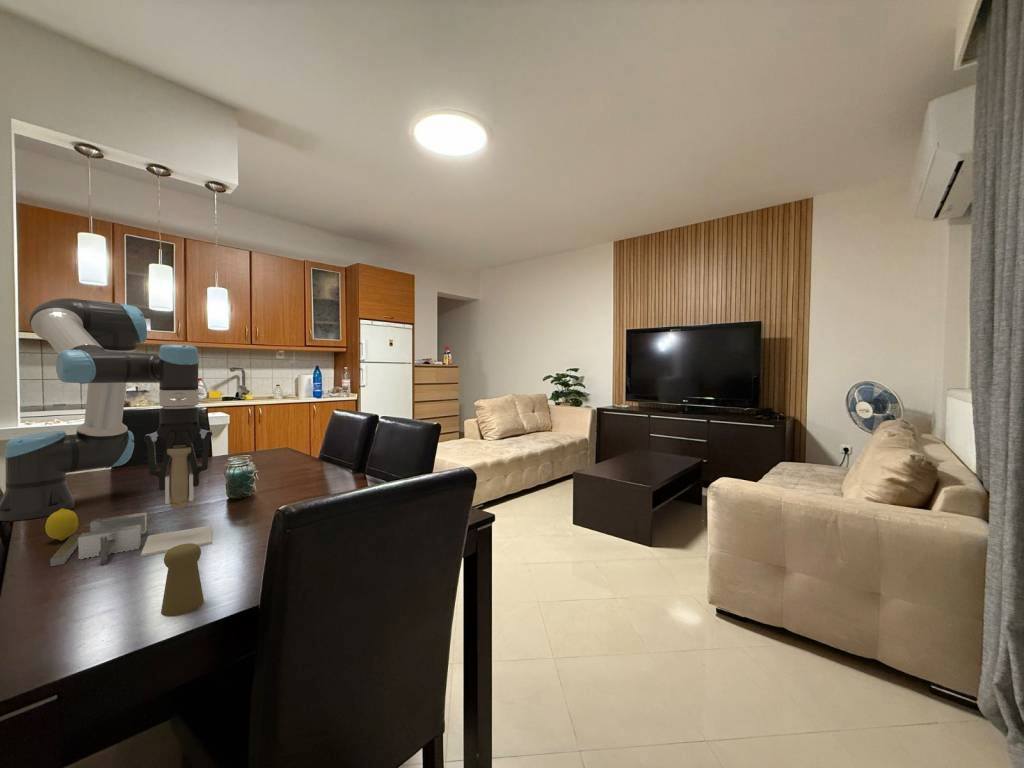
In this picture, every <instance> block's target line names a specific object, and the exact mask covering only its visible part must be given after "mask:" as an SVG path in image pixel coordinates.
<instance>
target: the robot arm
mask: <svg viewBox="0 0 1024 768" xmlns="http://www.w3.org/2000/svg"><path fill="white" fill-rule="evenodd" d="M28 323H29V328H31V331H33V333H34V334H35V335H37V337H39V338H40V339H42V340H45V341H47V342H48V343H49V345H50V346H51V347H52V348H53V350H54V351H55V352H56V354H57V356H56V358H55V359H56V360H55V371H56V374H57V378H58V379H59V381H61V382H63V383H65V384H66V383H67V384H68V383H70V384H80V385H81V384H82V385H84V384H86V385H87V391H86V401H85V412H84V413H85V414H84V421H83V423H81V424H80V425H78V426H77V427H76V433H75V434H67V432H66V431H64V430H52V431H43V432H36V433H30V434H25V435H24V434H23V435H20V436H16V437H13V438H11V439H10V440H8V441H7V442H6V444H5V451H4V455H3V458H4V460H5V462H4V464H5V491H4V493H3V495H2V497H1V500H0V521H2V522H3V521H4V522H11V521H12V522H13V521H24V520H30V519H31V520H32V519H38V518H43V517H49V516H50V515H51V514H53V513H54V512H56V511H59V510H60V509H63V508H64V509H66V510H72V509H73V508H75V498H74V496H73V494H72V492H71V491H70V488H69V486H68V485H67V474H68V473H70V474H71V473H75V472H84V471H85V472H86V471H92V470H97V469H98V470H99V469H110V468H112V467H119V466H123V465H124V464H126V463H127V462H129V461H130V459H131V457H132V456H133V452H134V449H135V442H134V441H135V437H134V434H133V432H132V431H131V430H128V428H129V427H128V426H127V425H126V424H124V423H123V417H124V407H125V400H126V399H125V398H126V389H127V384H131V383H132V384H133V383H134V384H135V383H136V384H139V383H140V384H141V383H142V384H143V383H144V384H146V383H149V384H152V383H154V384H159V387H158V388H159V390H158V391H159V392H158V393H159V398H158V399H159V401H158V402H159V406H160V407H161V408H160V409H159V425H158V428H157V430H156V431H155V432H152V433H147V434H145V435H143V442H145V444H146V445H147V446H146V447H147V448H146V449H147V450H146V451H147V463H148V464H147V465H148V475H149V476H151V477H157V478H158V485H159V486H158V489H159V490H160V491H164V494H165V495H164V496H165V497H164V500H165V505H169V504H171V499H170V474H167V472H168V469H169V468H168V467H169V463H170V461H171V456H170V455H168V454H167V449H172V448H173V446H179V445H186V448H188V447H191V453H189V454H188V461H189V463H190V467H191V470H192V472H189V498H188V502H189V501H190V502H192V501H194V497H195V496H194V490H195V489H194V488H195V487H198V486H199V484H200V473H202V472H204V471H207V470H208V468H209V449H210V440H211V438H212V436H213V431H212V430H206V429H202V427H201V426H200V424H199V408H198V407H196V406H198V405H199V363H200V359H199V351H198V348H197V347H196V346H194V345H187V344H162V345H160V346H159V349H158V353H156V352H155V353H152V352H151V353H150V352H135V351H136V350H137V349H138V344H139V345H140V344H143V343H145V342H146V340H147V339H148V327H147V321H146V319H145V316H144V314H143V311H141V309H140V308H138V307H136V306H134V305H129V304H125V303H121V302H120V303H118V302H117V303H116V302H109V301H99V300H88V299H80V298H71V297H70V298H69V297H68V298H67V297H65V298H63V297H62V298H57V299H52V300H48V301H45V302H43V303H40V304H39V305H38V306H36V307H34V309H32V311H31V312H30V314H29V316H28ZM199 434H200V438H201V439H202V441H203V442H202V455H201V456H202V457H201V459H202V460H201V465H199V464H198V460H197V456H196V452H195V448H194V444H193V441H194V440H195V439H196V438H197V436H198V435H199ZM158 437H160V438H161V439H162V440H163V441H164V442H165V444H166V445H165V449H164V450H165V451H164V453H163V457H162V462H161V465H160V469H157V468H158V466H157V453H156V442H157V440H158Z"/></svg>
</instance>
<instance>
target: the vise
mask: <svg viewBox="0 0 1024 768" xmlns="http://www.w3.org/2000/svg"><path fill="white" fill-rule="evenodd" d="M147 519H148V518H147V512H140V513H131V514H124V515H123V514H122V515H117V516H109V517H104V518H96V519H92V520H91V522H90V523H89V531H87V532H81V533H76V534H72V535H71V536H69V537H68V538H67V540H66V541H65V542H64V543H63V544H62V545H61V546H60V548H59V549H58V550H57V551H55V553H54V554H53V556H52V557H51V558H50V561H49V562H50V567H54V566H55V567H56V566H62V565H65V564H66V562H67V561H68V560H69V558H70V557H71V556H72V555H73V553H74V552H75V551H76V549H77V548H78V560H79V559H80V560H84V558H86V559H90V558H89V557H91V558H96V557H95V556H97V557H100V566H105V565H104V564H106V565H108V555H112V554H111V553H114V554H117V553H116V552H120V553H123V551H125V552H130V551H129V550H131V551H135V550H134V549H137V550H139V549H140V548H141V543H142V542H141V541H142V540H141V539H142V538H141V536H142V535H141V534H145V533H146V534H147V531H146V530H148V529H147V522H148V521H147ZM146 534H145V535H146ZM77 546H78V547H77ZM139 547H140V548H139ZM74 550H75V551H74ZM71 554H72V555H71ZM70 555H71V556H70ZM67 559H68V560H67Z"/></svg>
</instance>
